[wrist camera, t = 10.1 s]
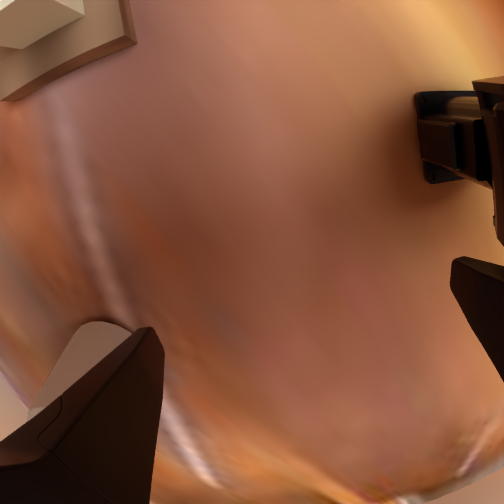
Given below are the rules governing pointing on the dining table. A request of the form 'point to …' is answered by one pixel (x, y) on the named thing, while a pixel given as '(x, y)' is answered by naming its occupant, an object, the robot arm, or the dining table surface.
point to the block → (34, 19)
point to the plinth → (66, 48)
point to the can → (78, 360)
